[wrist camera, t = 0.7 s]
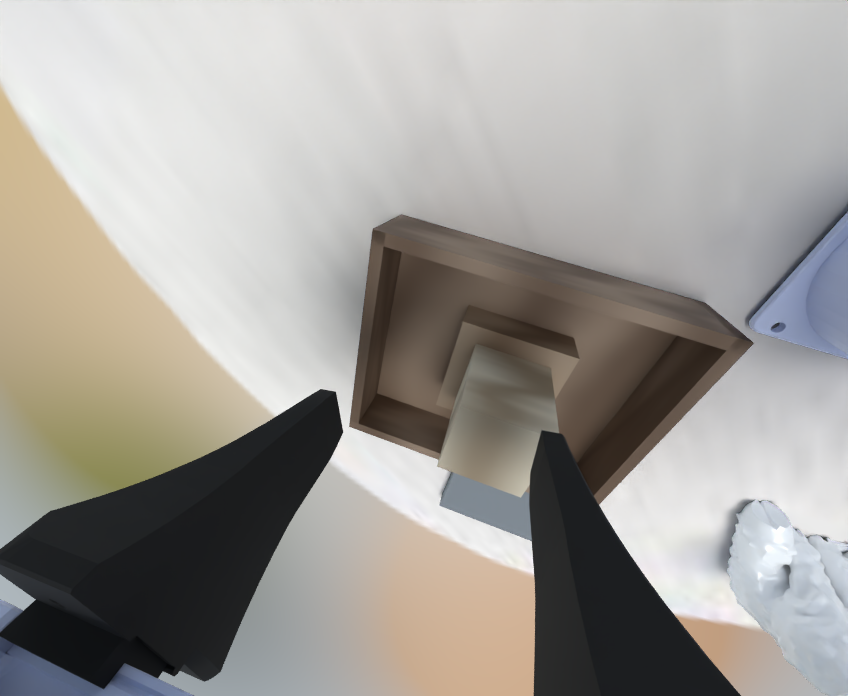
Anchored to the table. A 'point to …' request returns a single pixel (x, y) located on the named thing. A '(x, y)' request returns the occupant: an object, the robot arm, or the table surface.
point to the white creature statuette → (794, 592)
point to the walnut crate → (529, 344)
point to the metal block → (499, 420)
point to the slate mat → (488, 505)
